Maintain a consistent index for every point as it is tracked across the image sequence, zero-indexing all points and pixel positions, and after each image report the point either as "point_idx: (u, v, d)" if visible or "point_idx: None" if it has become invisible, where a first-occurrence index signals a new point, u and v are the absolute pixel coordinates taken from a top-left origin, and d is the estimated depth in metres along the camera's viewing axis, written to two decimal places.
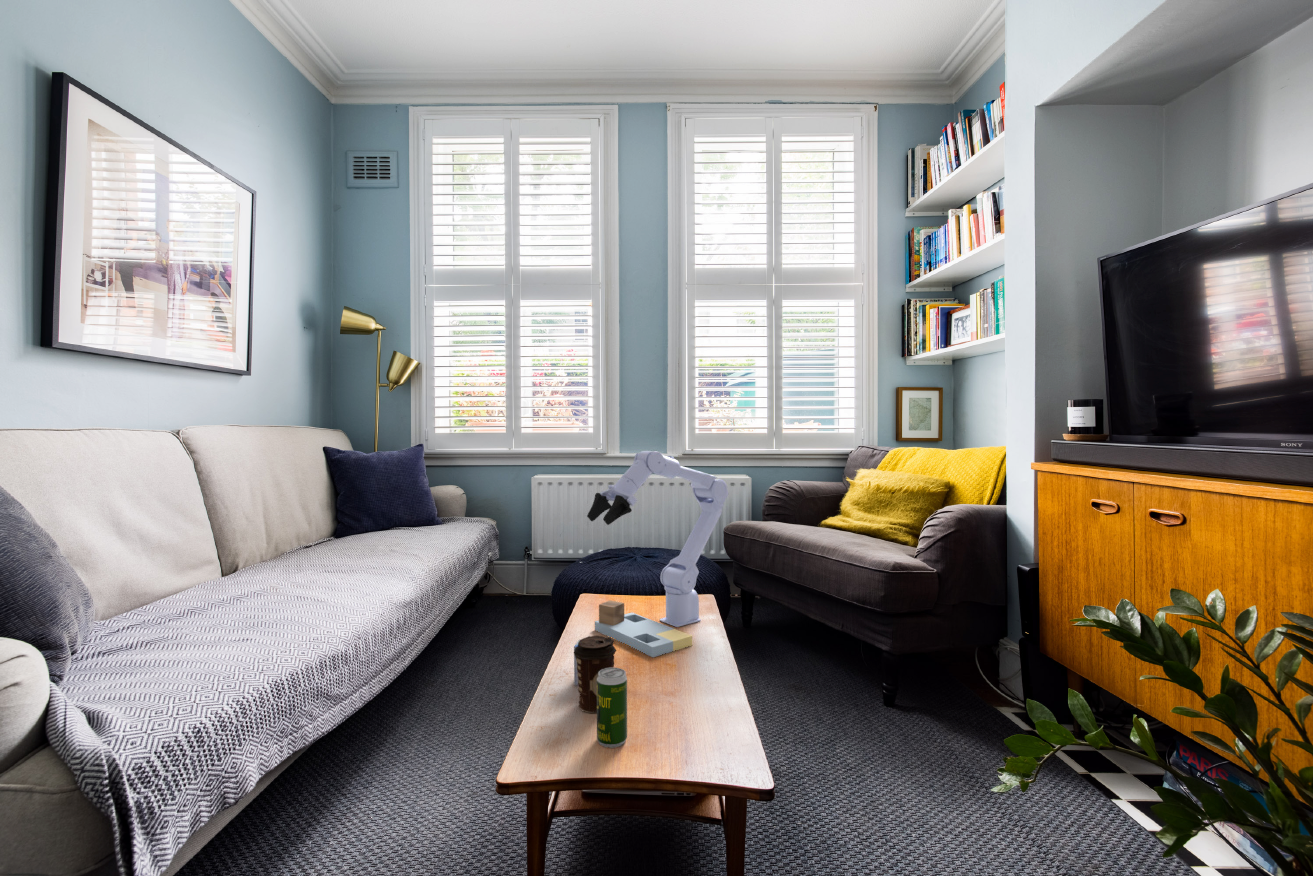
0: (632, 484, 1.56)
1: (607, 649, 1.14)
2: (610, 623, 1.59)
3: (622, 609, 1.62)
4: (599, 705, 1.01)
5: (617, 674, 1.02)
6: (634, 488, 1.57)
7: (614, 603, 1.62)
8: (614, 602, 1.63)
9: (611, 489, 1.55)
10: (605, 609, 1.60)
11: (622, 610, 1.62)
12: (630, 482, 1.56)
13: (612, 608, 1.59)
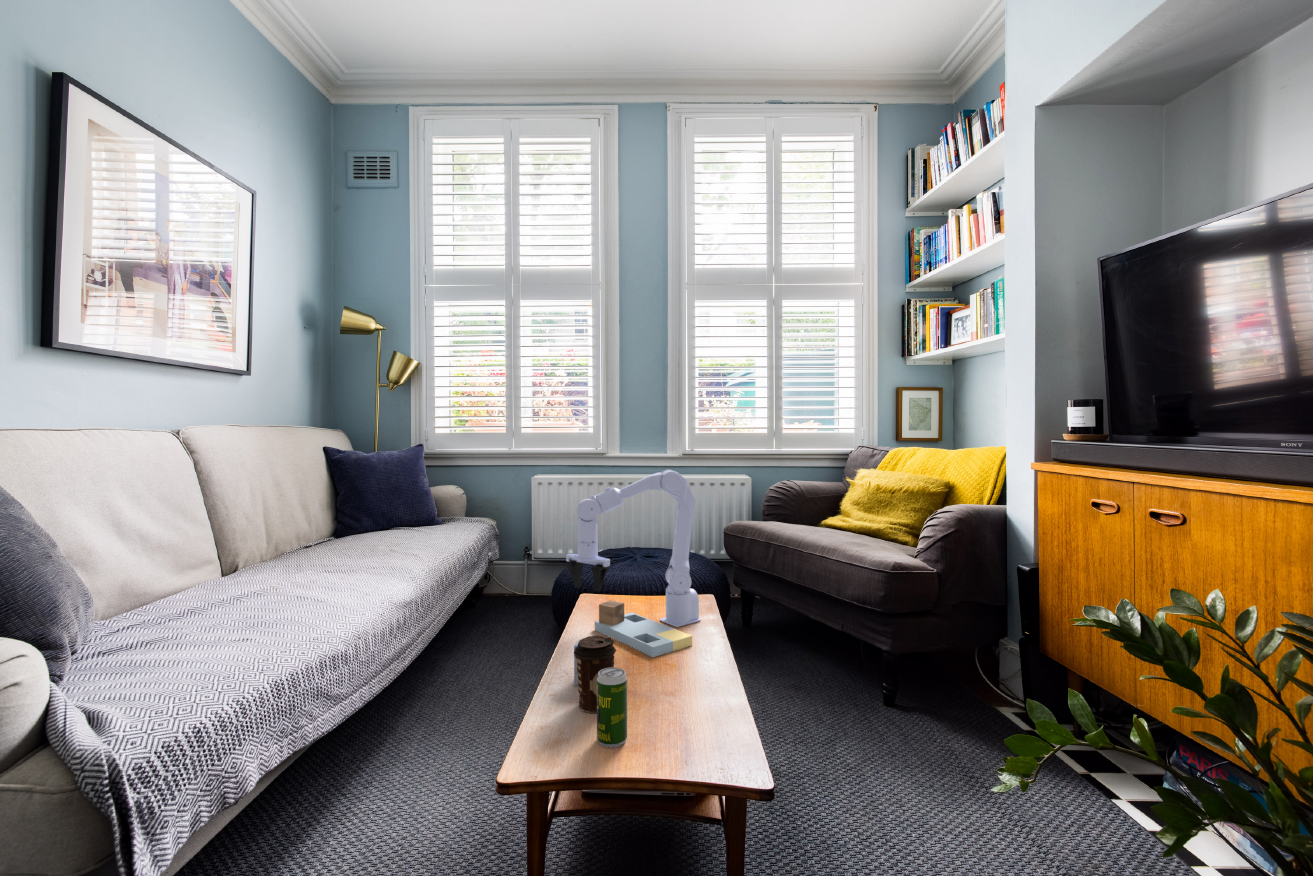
0: (593, 544, 1.64)
1: (607, 649, 1.14)
2: (610, 623, 1.59)
3: (622, 609, 1.62)
4: (599, 705, 1.01)
5: (617, 674, 1.02)
6: (596, 544, 1.66)
7: (614, 603, 1.62)
8: (614, 602, 1.63)
9: None
10: (605, 609, 1.60)
11: (622, 610, 1.62)
12: (591, 545, 1.64)
13: (612, 608, 1.59)
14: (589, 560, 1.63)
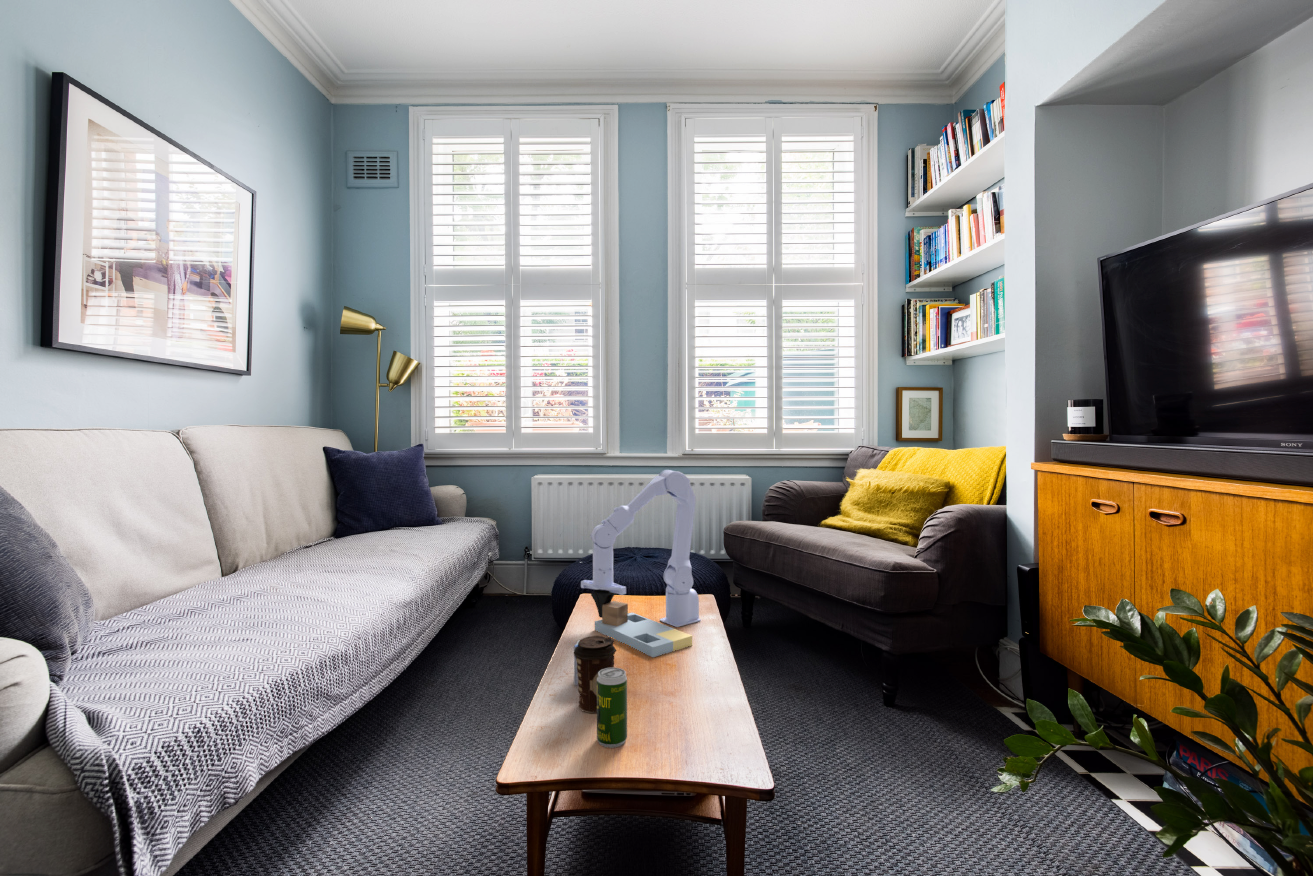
0: (609, 571, 1.61)
1: (607, 649, 1.14)
2: (613, 624, 1.58)
3: (625, 610, 1.61)
4: (599, 705, 1.01)
5: (617, 674, 1.02)
6: (612, 571, 1.63)
7: (617, 604, 1.61)
8: (617, 603, 1.62)
9: None
10: (609, 609, 1.59)
11: (625, 611, 1.61)
12: (607, 572, 1.61)
13: (616, 609, 1.58)
14: (605, 588, 1.60)
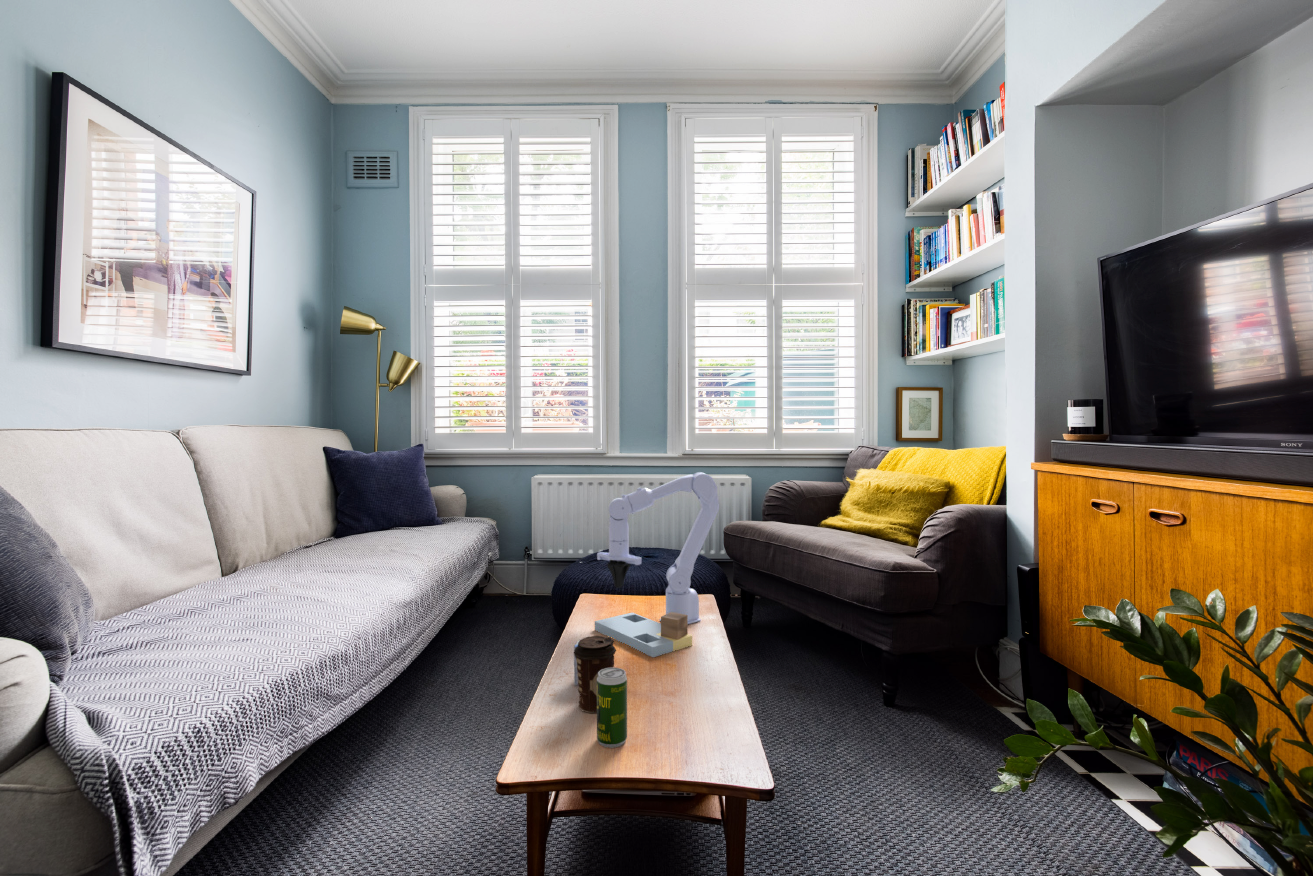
0: (625, 543, 1.67)
1: (607, 649, 1.14)
2: (674, 637, 1.48)
3: (685, 622, 1.51)
4: (599, 705, 1.01)
5: (617, 674, 1.02)
6: (627, 543, 1.68)
7: (677, 615, 1.51)
8: (676, 614, 1.52)
9: (612, 559, 1.66)
10: (668, 621, 1.49)
11: (685, 623, 1.51)
12: (623, 543, 1.66)
13: (676, 621, 1.48)
14: (621, 558, 1.66)
